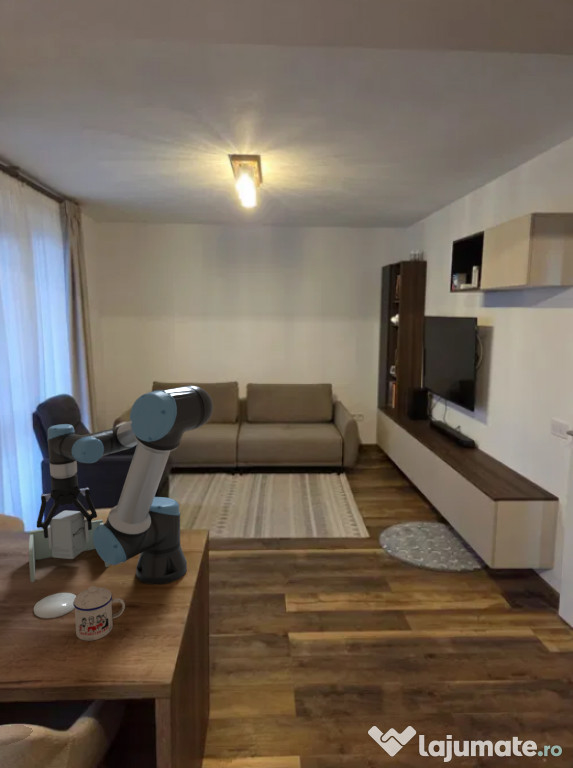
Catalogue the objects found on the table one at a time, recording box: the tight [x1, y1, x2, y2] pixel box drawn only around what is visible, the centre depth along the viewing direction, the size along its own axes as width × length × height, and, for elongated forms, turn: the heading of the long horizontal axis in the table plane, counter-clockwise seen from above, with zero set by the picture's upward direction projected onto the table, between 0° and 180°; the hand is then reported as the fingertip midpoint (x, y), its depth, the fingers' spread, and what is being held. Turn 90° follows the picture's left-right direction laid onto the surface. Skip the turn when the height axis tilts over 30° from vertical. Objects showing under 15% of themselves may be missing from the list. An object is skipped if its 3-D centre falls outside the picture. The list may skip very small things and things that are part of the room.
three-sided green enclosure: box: [28, 519, 110, 583], centre depth 158 cm, size 15×22×10 cm
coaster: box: [33, 592, 77, 619], centre depth 136 cm, size 11×11×1 cm
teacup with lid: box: [73, 585, 126, 642], centre depth 126 cm, size 12×9×12 cm
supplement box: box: [49, 510, 86, 560], centre depth 156 cm, size 7×7×13 cm
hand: (69, 543), depth 157 cm, fingers closed on supplement box, 10 cm apart
